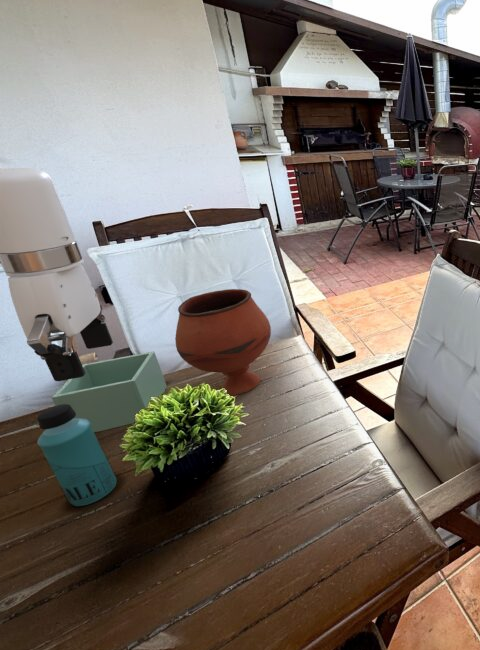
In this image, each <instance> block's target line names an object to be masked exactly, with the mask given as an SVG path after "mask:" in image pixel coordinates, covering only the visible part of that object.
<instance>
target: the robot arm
mask: <svg viewBox="0 0 480 650" xmlns="http://www.w3.org/2000/svg"><path fill="white" fill-rule="evenodd" d="M84 263H85V261H84V258H83V255H82V253H81V250H80V248H79V245H78V242H77V239H76V237H75V235H74V232H73V229H72V226H71V224H70V222H69V219H68V217H67V214H66V211H65V209H64V206H63V204H62V201H61V199H60V196H59V193H58V191H57V188H56V185H55V183H54V181H53V179H52V177H51V176H50V175H49V174H48V173H47V172H46V171H44V170H41V169H37V168H31V167H29V168H28V167H16V168H15V167H13V168H10V167H9V168H0V265H1V266H2V269H3V271H4V273H5V275H6V277H8V278H7V281H8V288H9V293H10V297H11V301H12V304H13V307H14V310H15V313H16V316H17V319H18V321H19V324H20V326H21V329H22V331H23V333H24V336H25V338H26V344H27V345H28V347H30V348H31V349H32V350H33V351H34V354H36V355H37V356H39V357H40V359H41V360H43V361H45V363H46V366H47V368H48V370H49V372H50V375H51V377H52V378H53V381H55V382H63V381H68V380H69V379H74V378H79V377H83V376H84V375H85V371H84V368H83V366H82V365H83V364H82V361H81V358H80V357H79V355H78V353H77V351H73V338H74V337H75V336H77V335H78V334H79V333H80V334H79V335H80V336H81V338H82V341H83V343H84V345H85V348H86V349H88V350H92V349H97V348H103V347H109V346H112V344H113V343H114V341H113V339H112V335H111V333H110V331H109V328H108V326H107V323H106V317H105V315H104V314H102V310H103V306H102V305H101V304H100V296H99V295H100V294H99V292H97V291H95V289H94V286H93V284H92V282H91V279H90V278H89V276H88V274H87V272H86V270H85V268H84V266H83V265H84ZM82 264H83V265H82ZM59 341H60V342H61V346H60V345H58V344H56V343H53V342H59Z"/></svg>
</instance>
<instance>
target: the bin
mask: <svg viewBox="0 0 480 650" xmlns="http://www.w3.org/2000/svg"><path fill="white" fill-rule="evenodd" d="M82 366H83V368H84V371H85V375H84V376H83V377H79V378H74V379H69V380H66V381H65V383H64V384H63V385H62V386H61V387H60V388H59V389H58V390H57V391H56V392H55V393H54V394H53V395H52V397H51V399H52V402H53V404H54V406H57V405H62V404H68V405H70V406H71V407H72V409H73V410H74V411H75V413H76V416H75V417H74V418H79V419H86V420H88V421H89V422H90V424H91V427H92V429H93V431H94V434H95V433H98V432H103V431H107V430H112V429H115V428H119V427H123V426H127V425H132V424H135V423H134V422H135V415H136V413H138V412H139V411H140V410H141V409H143V408H147V407H148V404H149V401H150V399H151V397H158V396H160V395H161V394H163V393H164V394H165V392H166V390H167V388H168V386H167V383H166V379H165V376H164V374H163V372H162V369H161V367H160V363H159V361H158V358H157V355H156V353H155V351H149V352H144V353H143V352H142V353H137V354H132V355H127V356H122V357H117V358H111V359H106V360H99V361H93V362H89V363H83V364H82ZM165 389H166V390H165ZM164 394H163V395H164Z"/></svg>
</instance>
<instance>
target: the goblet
mask: <svg viewBox="0 0 480 650" xmlns="http://www.w3.org/2000/svg"><path fill="white" fill-rule="evenodd" d="M177 311H178V319H177V324H176V329H175V338H174V340H175V341H174V342H175V348H176V351H177V353H178V355H179V356H180V358H181V359H182V360H183V361H185V363H187V364H188V365H190V366H192V367H194V368H195V369H197V370H200V371H203V372H207V373H217V374H218V373H219V374H220V373H222V375H224V376H225V377H226V378H225V379H224V381H223V382H222V385H221V389H222V388H225V389H226V390H227V393H228V394H229V395H232V396H238V395H241V394H244V393H247V392H249V391H251V390H253V389H255V388H256V387H257V386H258V385H259V384H260V382H261V378H260V376H259V375H258V374H256V373H254V372H252V371H250V370H249V368H250V364H253V363H254V362H256V360H257V359H258V358H259V357H261V355H262V353H264V351H265V350H266V348H267V347H268V345H269V342H270V339H271V335H272V328H271V323H270V321H269V318H268V317H267V316H266V314H265V312H264V311H263V310H262V309H261V308H260V306H258V304H257V303H256V302H255V300H254V298H253V297H252V293H251V291H249V290H246V289H240V288H229V289H228V288H227V289H222V290H215V291H210V292H206V293H201V294H198V295H194V296H191V297H189V298H187V299H186V300H184V301H183V302H182V303H181V304H180V305H179V306H178V308H177ZM229 395H228V396H229Z"/></svg>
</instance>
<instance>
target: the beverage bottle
mask: <svg viewBox="0 0 480 650" xmlns="http://www.w3.org/2000/svg"><path fill="white" fill-rule="evenodd" d="M75 416H76V413H75V411H74V410H73V409H72V407H71V406H70V405H68V404H62V405H57V406H55V405H54V406H52V407H49V408H47V409H44V410H43V411H41V412H40V413H39V414H38V415H37V417H36V419H37V422H38V426H39V428H40V429H41V430H44V431H43V432H42V433H41V434H40V436H39V437H38V439H37V442H36V443H37V445H38V446H39V447H40V449H41V451H42V455H43V456H42V457H45V458H44V459H45V462H46V464H47V466H48V467H49V469H50V470H51V471H52V474H54V478H55V479H56V480H57V483H58V485H59V486H60V490H61V492H62V494H63V496H64V498H65V499H66V500H67V504H68V503H69V504H70V505H72V506H75V507H84V506H88V505H91V504H93V503H96V502H98V501H100V500H102V499H103V498H104V497H106V496H107V495H109V494H110V493H111V492H112V491H113V490H114V489H115V487H116V485H117V477H116V474H115V472H114V470H113V468H112V464H110V462H109V459H108V457H107V455H106V453H105V452H104V451H103V449H102V446H101V445H100V442H99V440H98V438H97V436H96V434H95V433H94V431H93V429H92V427H91V424H90V422H89V421H88V420H86V419H79V418H74V417H75Z"/></svg>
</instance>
